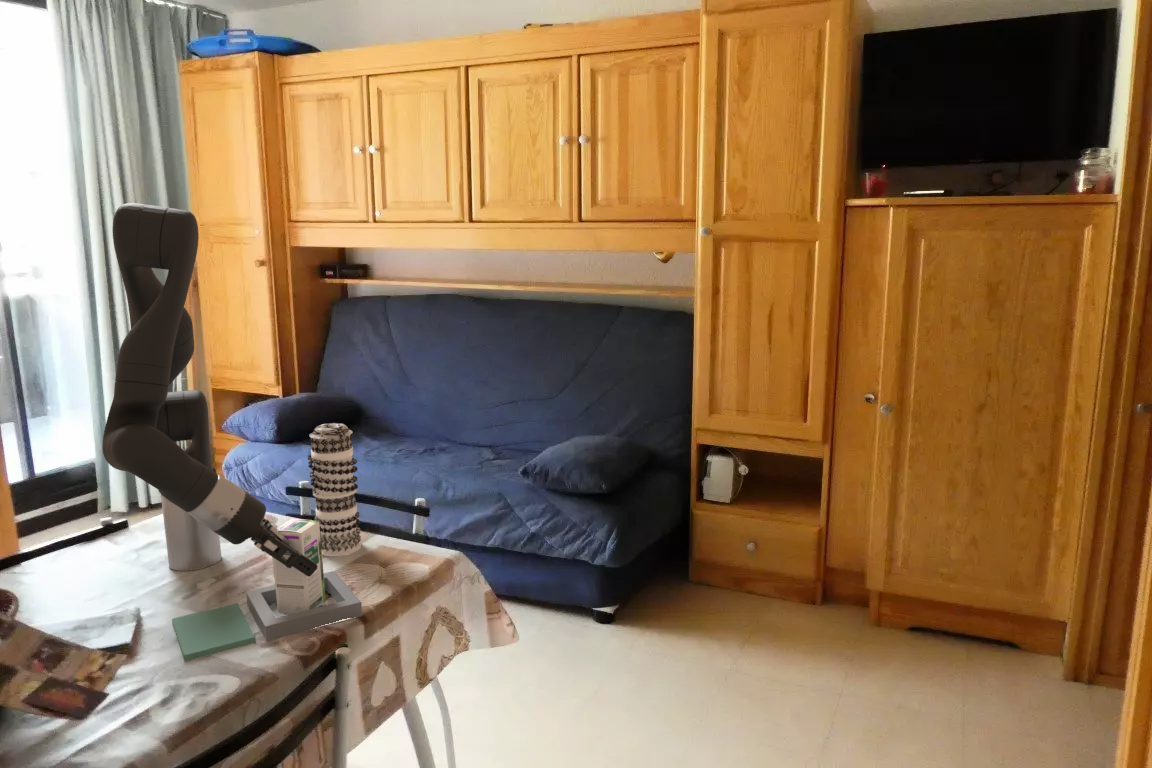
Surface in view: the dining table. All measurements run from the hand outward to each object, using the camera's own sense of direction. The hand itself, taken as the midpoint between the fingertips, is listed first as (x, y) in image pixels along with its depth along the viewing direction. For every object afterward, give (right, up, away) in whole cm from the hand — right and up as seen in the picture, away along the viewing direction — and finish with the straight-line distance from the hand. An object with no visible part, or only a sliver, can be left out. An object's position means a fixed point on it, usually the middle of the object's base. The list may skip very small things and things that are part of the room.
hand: (307, 562), depth 136 cm
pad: (-13, -10, -6) cm, 17 cm away
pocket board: (-1, -8, +1) cm, 8 cm away
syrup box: (-1, -8, +1) cm, 8 cm away
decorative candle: (-3, -3, +28) cm, 28 cm away
